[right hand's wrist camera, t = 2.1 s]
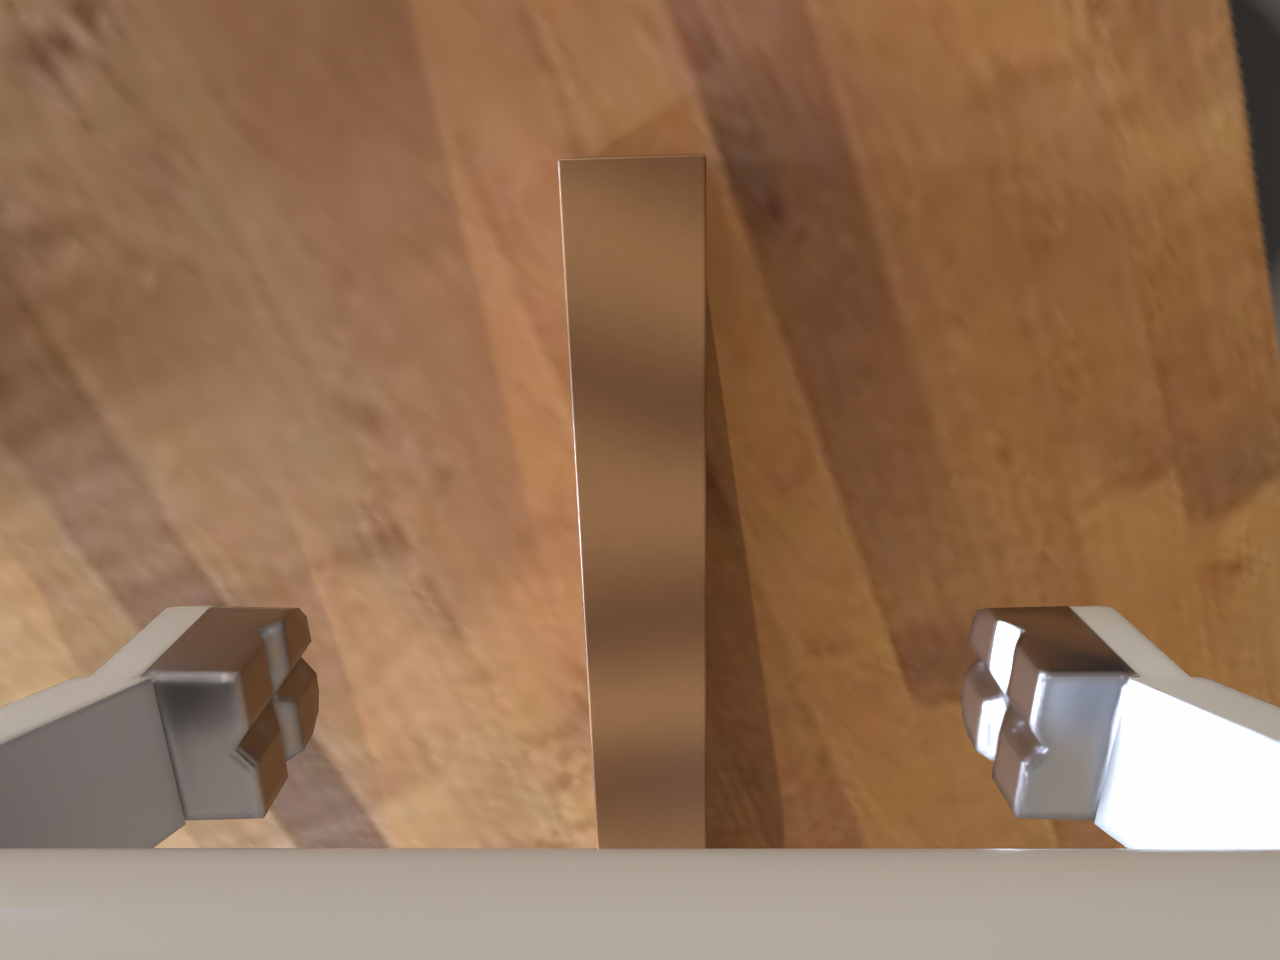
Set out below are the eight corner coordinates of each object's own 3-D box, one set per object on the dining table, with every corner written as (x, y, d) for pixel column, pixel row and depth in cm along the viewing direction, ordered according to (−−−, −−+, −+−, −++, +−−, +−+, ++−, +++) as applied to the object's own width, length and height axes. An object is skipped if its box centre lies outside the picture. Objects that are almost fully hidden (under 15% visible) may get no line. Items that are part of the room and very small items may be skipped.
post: (575, 163, 34) (557, 158, 26) (688, 160, 34) (706, 154, 26) (628, 1216, 58) (628, 1389, 49) (695, 1214, 58) (706, 1387, 49)
